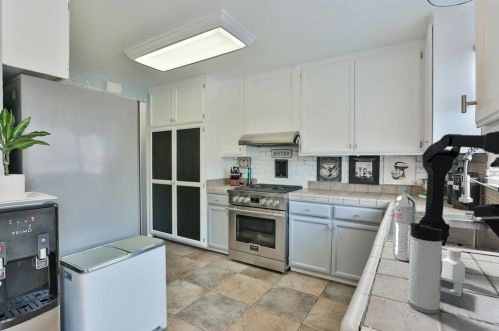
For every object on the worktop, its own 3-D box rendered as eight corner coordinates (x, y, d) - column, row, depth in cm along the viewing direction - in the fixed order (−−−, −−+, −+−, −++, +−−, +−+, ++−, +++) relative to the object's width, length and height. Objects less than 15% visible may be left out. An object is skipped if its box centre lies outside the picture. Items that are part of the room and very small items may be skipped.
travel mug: (400, 300, 64) (403, 220, 64) (425, 299, 64) (428, 220, 64) (418, 315, 58) (422, 227, 57) (446, 314, 58) (449, 227, 58)
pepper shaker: (440, 278, 77) (442, 247, 76) (452, 278, 77) (453, 247, 77) (453, 285, 73) (454, 252, 73) (465, 284, 73) (466, 251, 73)
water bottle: (416, 263, 88) (418, 191, 88) (393, 259, 91) (395, 190, 91) (412, 256, 94) (414, 189, 94) (391, 253, 97) (393, 188, 97)
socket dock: (422, 280, 75) (423, 271, 75) (462, 291, 69) (463, 281, 69) (416, 293, 68) (416, 282, 68) (460, 306, 61) (461, 294, 61)
